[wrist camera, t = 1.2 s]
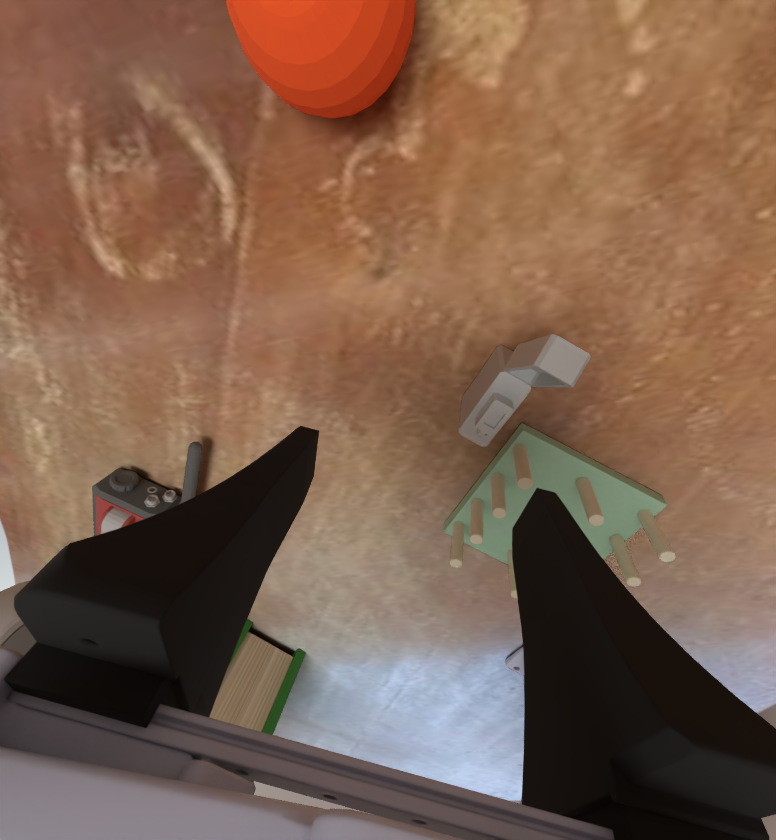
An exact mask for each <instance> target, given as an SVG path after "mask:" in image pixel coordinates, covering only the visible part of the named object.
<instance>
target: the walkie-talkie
mask: <svg viewBox="0 0 776 840" xmlns="http://www.w3.org/2000/svg"><path fill="white" fill-rule="evenodd" d="M201 457H202V446H201V444H200V443H199V442H192V443H191V444H190V445H189V448H188V455H187V462H186V469H185V476H184V483H183V490H182V498H181V497H180V496H179V495H178V494H176V493H175V491H173V490H167V489H165V488H163V487H161V486H158V485H156V484H154V483H152V482H150V481H148V480H145V479H143V478H141V477H139V475H137V473H136V472H133V471H129V470H123V469H121V468H119V469H117V470H115V471H114V472H112V473H111V474H110V475H108V476H107V477H105V478H104V479H102V480H101V481H100V482H98V483H97V484H95V485H94V486H92V491H93V521H94V536H97V535H100V534H103V533H106V532H109V531H112V530H116V529H119V528H121V527H124V526H127V525H130V524H133V523H135V522H138V521H141V520H143V519H146V518H148V517H151V516H153V515H156V514H158V513H161V512H163V511H166V510H168V509H170V508H172V507H175V506H177V505H179V504H181V503H183V502H185V501H187V500H189V499H191V498H193V497H195V496H196V491H197V486H198V480H199V474H200V471H199V470H200V463H201Z"/></svg>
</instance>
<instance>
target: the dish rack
mask: <svg viewBox="0 0 776 840" xmlns="http://www.w3.org/2000/svg"><path fill="white" fill-rule="evenodd" d="M536 488H540V489H544V490H548V491H552V492H555V493H556V494H557V495H558V496H559V498H560V499H561V501H562V502H563V503H564V505H565V506H566V508H567V509H568V511H569V512H570V514H571V515H572V516H573V518H574V519H575V521H576V522H577V524H578V525H579V527H580V528H581V530H582V531H583V532H584V534H585V535H586V537H587V538H588V539H589V541H590V542H591V544H592V545H593V546H594V548H595V549H596V551H597V552H598V553H599V555H600V556H601V557H602V559H605V558H606V557H607V556H608V555H609V554H611V553H612V552H613V551H614V553H615V556H616V558H617V561H618V563H619V566H620V569H621V571H622V574H623V576H624V579H625V582H626V584H627V585H629V586H631V587H636V586H639V585H640V584H641V579H640V576H639V574H638V572H637V569H636V567H635V565H634V562H633V560H632V558H631V555H630V553H629V551H628V548H627V546H626V544H625V541H626V540H627V539H628V538H630V537H631V536H632V535H633V534H634V533H635V532H637V531H638V530H639V529H640V528H641V527H643V528H644V530H645V532H646V534H647V536H648V538H649V540H650V542H651V544H652V546H653V548H654V550H655V552H656V554H657V556H658V558H659V559H660V560H661V561H663V562H671V561H673V560H674V559H675V557H676V555H675V553H674V551H673V550H672V548H671V546H670V544H669V543H668V541H667V539H666V537H665V535H664V534H663V532H662V530H661V528H660V527H659V525H658V523H657V521H656V520H655V518H654V517H655V516H656V515H657V514H658V513H659V512H660V511H662V510H663V509H664V508H665V507H666V506H667V503H666V502H665V500H664V499H663V497H662V496H661V495H660V494H658V493H656V492H654V491H652V490H650V489H648V488H646V487H644V486H642V485H641V484H639V483H637V482H635V481H633V480H631V479H629V478H627V477H625V476H623V475H621V474H619V473H618V472H616V471H614V470H612V469H610V468H608V467H606V466H604V465H602V464H600V463H598V462H596V461H594V460H593V459H591V458H589V457H587V456H585V455H583V454H581V453H579V452H577V451H575V450H573V449H571V448H569V447H568V446H566V445H564V444H562V443H560V442H558V441H556V440H554V439H552V438H550V437H548V436H546V435H545V434H543V433H541V432H539V431H537V430H535V429H533V428H531V427H529V426H527V425H525V424H523V423H521V424H520V425H519V427H518V428H517V429H516V431H515V432H514V433H513V435H512V436H511V437H510V438H509V440H508V441H507V442H506V444H505V445H504V446H503V448H502V449H501V450H500V451H499V453H498V454H497V455H496V457H495V458H494V459H493V461H492V462H491V463H490V464H489V466H488V467H487V468H486V470H485V471H484V472H483V474H482V475H481V476H480V478H479V479H478V480H477V481H476V483H475V484H474V485H473V487H472V488H471V489H470V491H469V492H468V493H467V494H466V496H465V497H464V498H463V500H462V501H461V502H460V504H459V505H458V506H457V507H456V509H455V510H454V511H453V513H452V514H451V515H450V517H449V518H448V519H447V520H446V522H445V523H444V531H443V532H444V533H446V534H448V535H450V536H452V543H451V553H450V565H451V566H452V567H454V568H460V567H461V566H462V561H463V544H464V543H465V544H467V545H469V546H471V547H473V548H475V549H477V550H479V551H481V552H483V553H485V554H487V555H489V556H491V557H493V558H495V559H497V560H499V561H501V562H503V563H505V564H507V565H508V569H509V583H510V594H511V596H512V597H513V598H517V590H516V583H515V576H514V568H513V560H512V528H513V526H514V525H515V523H516V521H517V520H518V518H519V516H520V515H521V513H522V511H523V510H524V508H525V506H526V505H527V503H528V501H529V500H530V498H531V496H532V495H533V493H534V492H535V490H536ZM517 599H518V598H517Z"/></svg>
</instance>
